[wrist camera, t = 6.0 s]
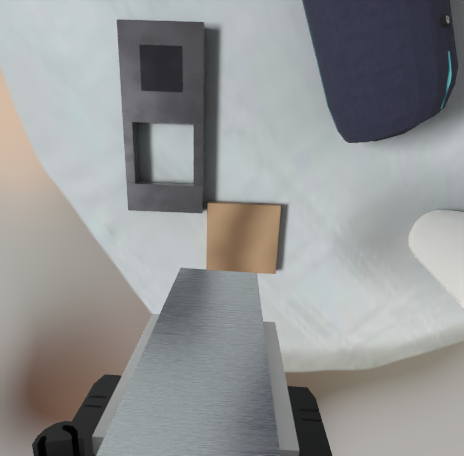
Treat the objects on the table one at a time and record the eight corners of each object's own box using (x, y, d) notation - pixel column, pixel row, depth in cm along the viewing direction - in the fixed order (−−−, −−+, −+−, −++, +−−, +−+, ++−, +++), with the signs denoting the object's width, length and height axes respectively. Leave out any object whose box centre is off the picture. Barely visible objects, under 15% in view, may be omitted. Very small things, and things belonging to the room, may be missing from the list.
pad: (279, 204, 35) (280, 206, 34) (274, 270, 37) (275, 273, 36) (208, 201, 35) (207, 203, 34) (207, 267, 37) (206, 270, 36)
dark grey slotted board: (205, 28, 30) (203, 22, 29) (203, 209, 35) (202, 213, 34) (123, 25, 30) (116, 19, 29) (133, 206, 35) (128, 210, 34)
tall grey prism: (256, 273, 18) (285, 496, 7) (250, 338, 20) (266, 620, 8) (180, 267, 19) (83, 482, 7) (179, 333, 20) (95, 607, 8)
